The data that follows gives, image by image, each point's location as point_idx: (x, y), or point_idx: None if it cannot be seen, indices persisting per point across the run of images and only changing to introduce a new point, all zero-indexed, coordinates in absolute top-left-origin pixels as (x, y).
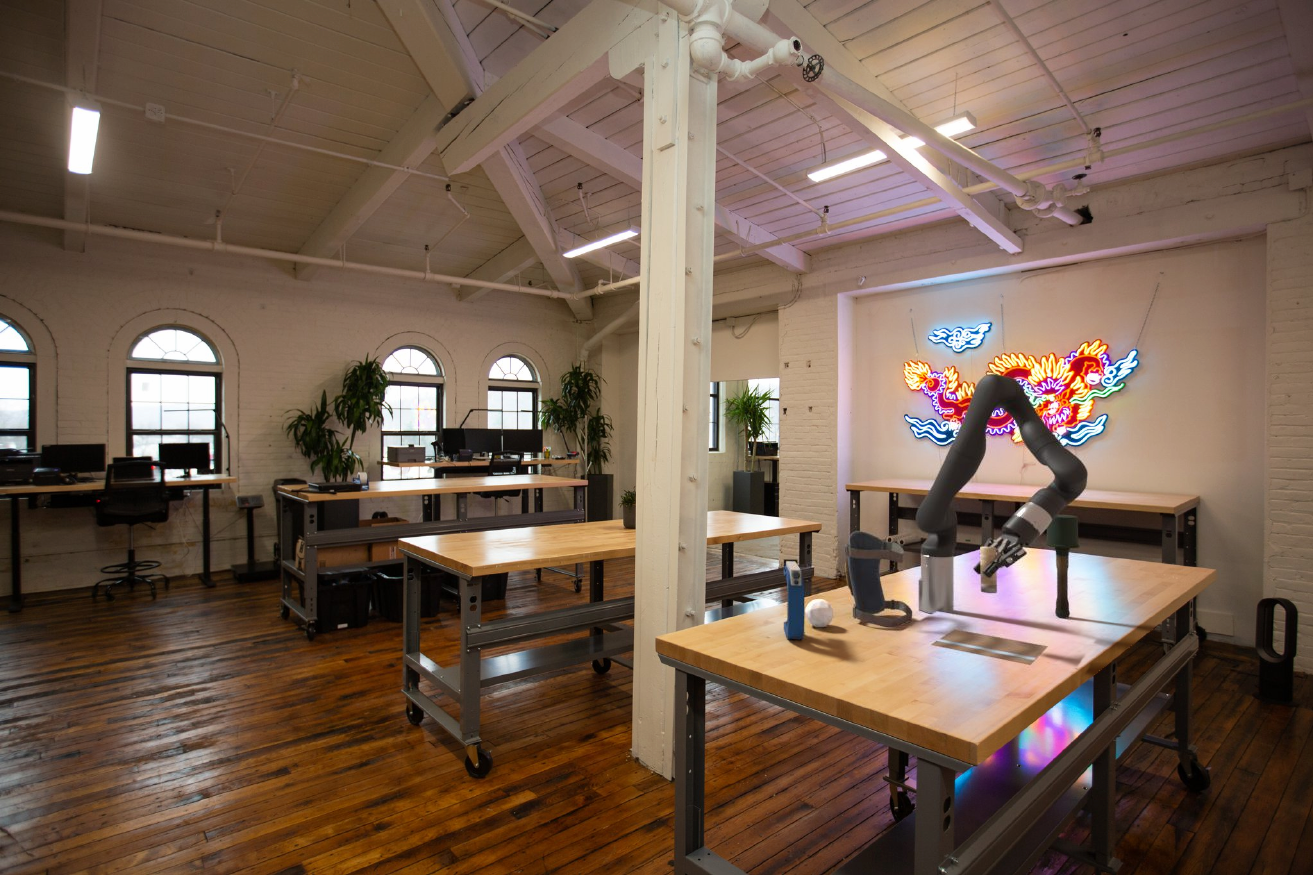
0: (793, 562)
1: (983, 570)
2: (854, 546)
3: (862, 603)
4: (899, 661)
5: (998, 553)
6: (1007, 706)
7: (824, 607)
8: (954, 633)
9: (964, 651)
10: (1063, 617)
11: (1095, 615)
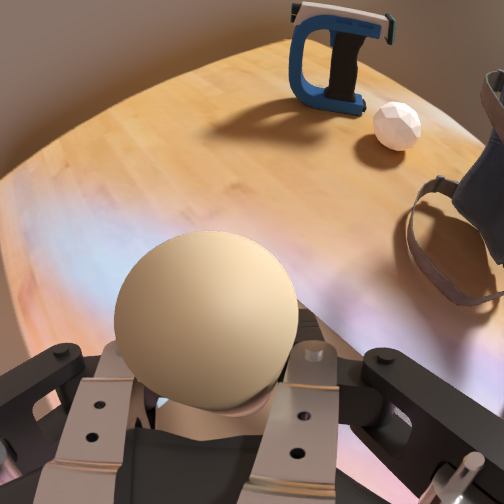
0: (376, 16)
1: None
2: None
3: (492, 216)
4: (193, 186)
5: (111, 378)
6: (13, 253)
7: (384, 114)
8: (338, 352)
9: None
10: None
11: None
